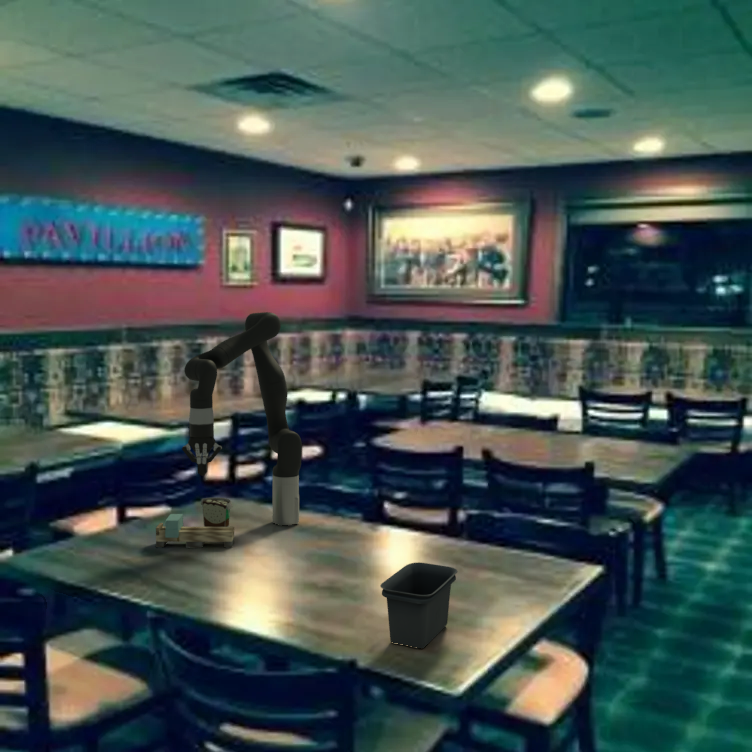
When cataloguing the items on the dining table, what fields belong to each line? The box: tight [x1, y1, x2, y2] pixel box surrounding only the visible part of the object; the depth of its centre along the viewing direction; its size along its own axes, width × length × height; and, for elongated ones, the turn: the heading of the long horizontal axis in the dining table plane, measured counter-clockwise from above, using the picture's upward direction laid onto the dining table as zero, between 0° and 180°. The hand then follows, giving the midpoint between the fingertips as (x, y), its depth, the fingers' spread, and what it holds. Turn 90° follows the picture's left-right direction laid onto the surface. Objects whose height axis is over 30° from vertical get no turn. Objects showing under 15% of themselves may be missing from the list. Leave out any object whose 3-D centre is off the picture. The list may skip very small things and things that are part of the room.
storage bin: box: [380, 562, 458, 649], centre depth 204 cm, size 21×16×14 cm
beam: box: [155, 522, 235, 549], centre depth 273 cm, size 24×6×6 cm, turn 92°
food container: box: [200, 497, 233, 527], centre depth 293 cm, size 12×6×10 cm, turn 58°
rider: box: [164, 513, 184, 538], centre depth 273 cm, size 4×9×5 cm, turn 2°
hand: (202, 475), depth 272 cm, fingers closed
